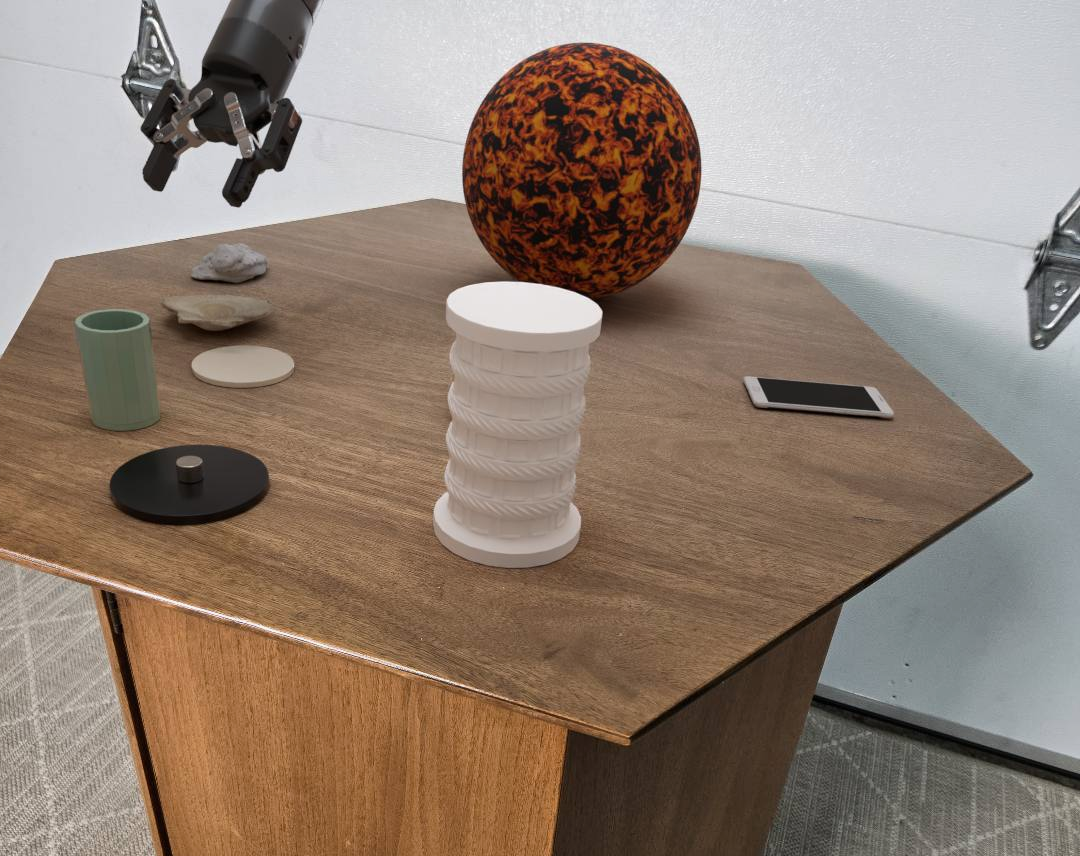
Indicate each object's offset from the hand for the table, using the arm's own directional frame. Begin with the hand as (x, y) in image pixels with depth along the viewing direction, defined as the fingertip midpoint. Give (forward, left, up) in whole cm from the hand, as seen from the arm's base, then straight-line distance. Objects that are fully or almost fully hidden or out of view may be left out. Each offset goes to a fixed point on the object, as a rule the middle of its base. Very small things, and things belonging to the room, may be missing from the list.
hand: (190, 193), depth 88 cm
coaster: (+1, +4, -17) cm, 18 cm away
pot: (+2, -11, -17) cm, 21 cm away
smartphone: (+50, +39, -18) cm, 66 cm away
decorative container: (+39, -5, -18) cm, 43 cm away
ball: (+12, +51, -18) cm, 55 cm away
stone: (-23, +25, -18) cm, 38 cm away
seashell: (-10, +11, -18) cm, 23 cm away
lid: (+16, -16, -17) cm, 29 cm away
